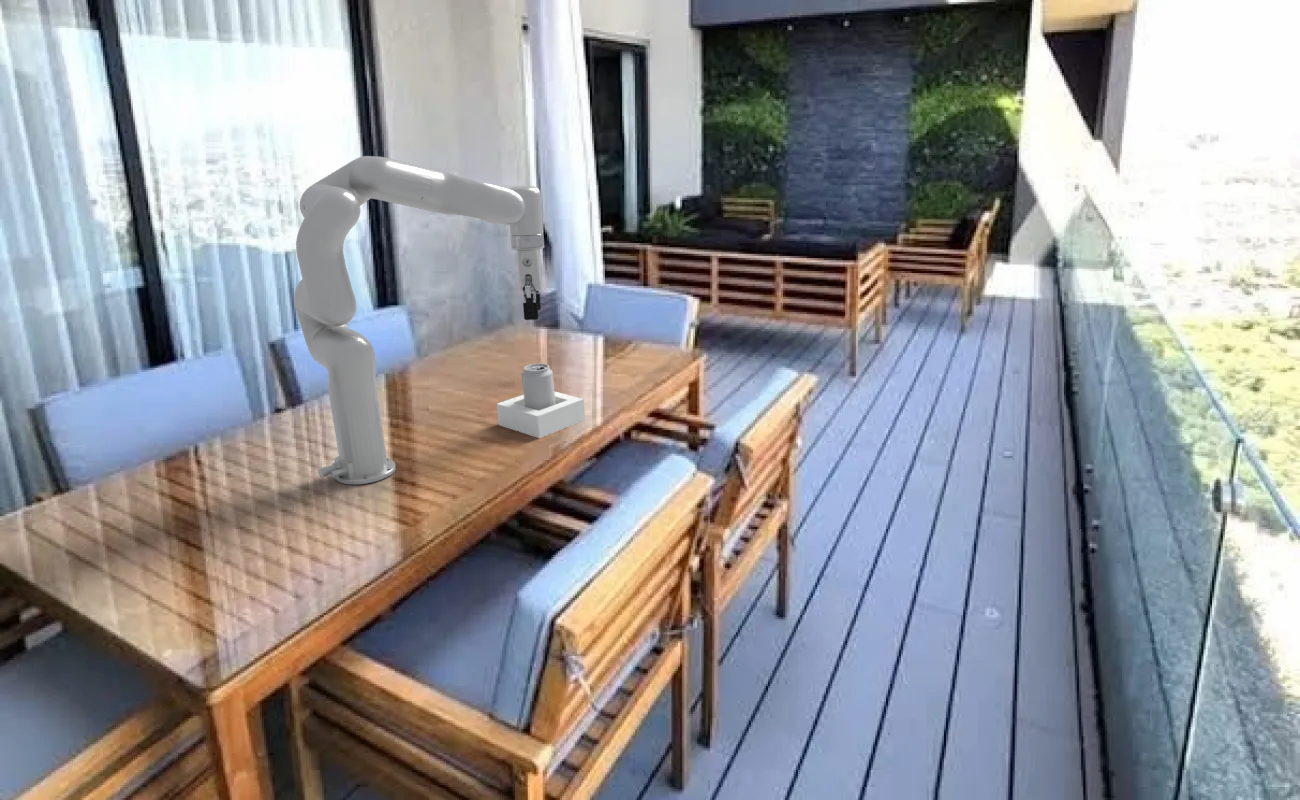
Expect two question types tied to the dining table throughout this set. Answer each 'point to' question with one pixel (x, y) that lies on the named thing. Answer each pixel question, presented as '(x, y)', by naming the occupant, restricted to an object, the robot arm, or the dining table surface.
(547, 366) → the can
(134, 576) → the dining table surface
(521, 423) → the riser
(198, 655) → the dining table surface
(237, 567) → the dining table surface
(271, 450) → the dining table surface
